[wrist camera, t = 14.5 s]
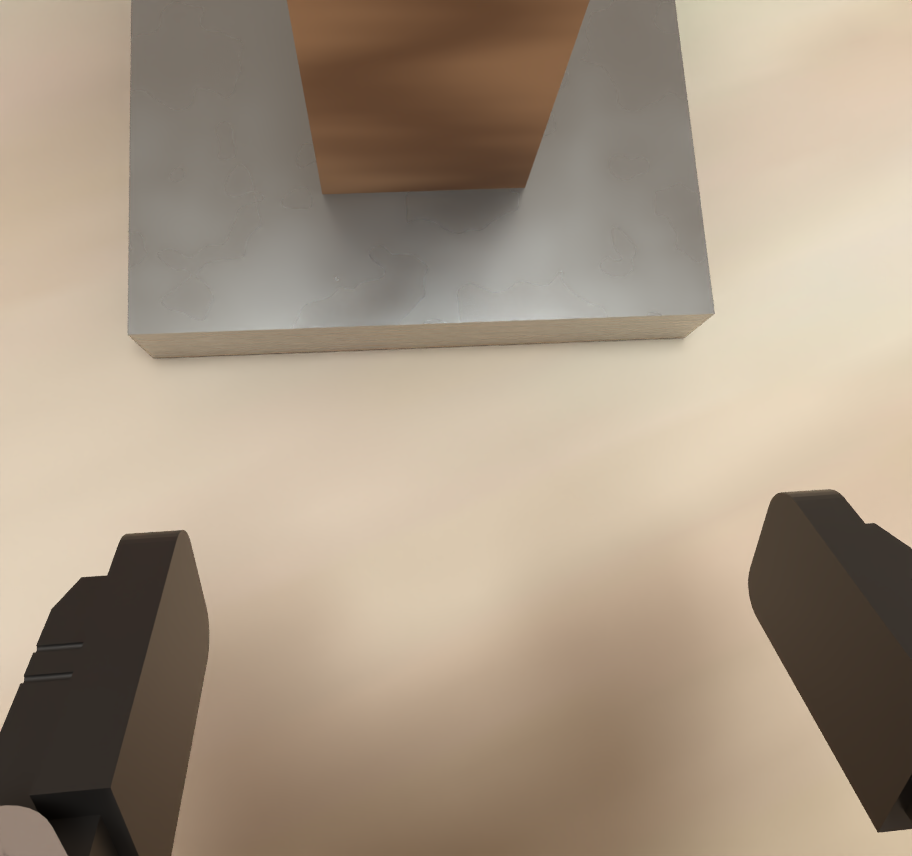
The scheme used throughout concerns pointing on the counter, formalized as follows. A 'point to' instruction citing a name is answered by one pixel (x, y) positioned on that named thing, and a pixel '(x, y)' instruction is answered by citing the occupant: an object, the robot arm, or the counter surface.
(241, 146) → the press
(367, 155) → the block
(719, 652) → the counter surface
